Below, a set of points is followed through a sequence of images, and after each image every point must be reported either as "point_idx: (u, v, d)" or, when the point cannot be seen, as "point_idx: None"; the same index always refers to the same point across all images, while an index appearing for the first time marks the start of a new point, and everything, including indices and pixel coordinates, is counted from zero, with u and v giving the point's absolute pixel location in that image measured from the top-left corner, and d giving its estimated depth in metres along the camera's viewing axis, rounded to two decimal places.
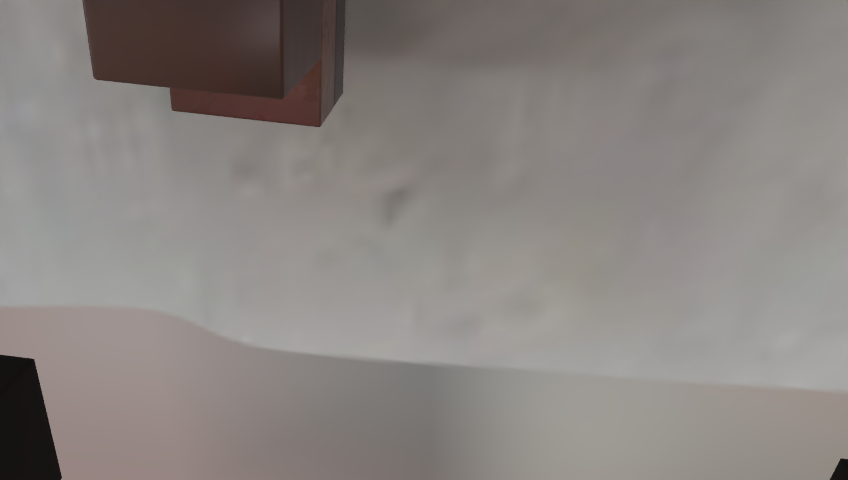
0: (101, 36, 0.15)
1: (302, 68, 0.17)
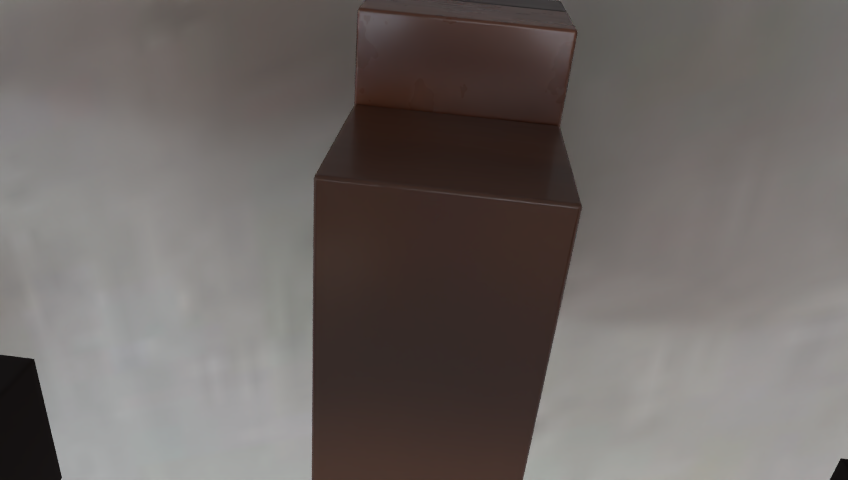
0: (327, 474, 0.15)
1: None
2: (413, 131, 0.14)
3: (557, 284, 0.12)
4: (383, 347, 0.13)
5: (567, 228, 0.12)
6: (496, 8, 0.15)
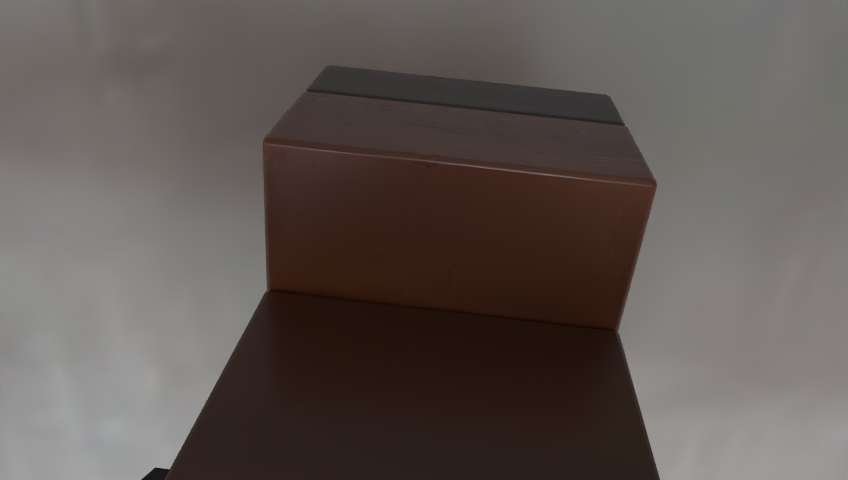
0: None
1: None
2: (358, 370, 0.07)
3: None
4: None
5: None
6: (509, 123, 0.09)
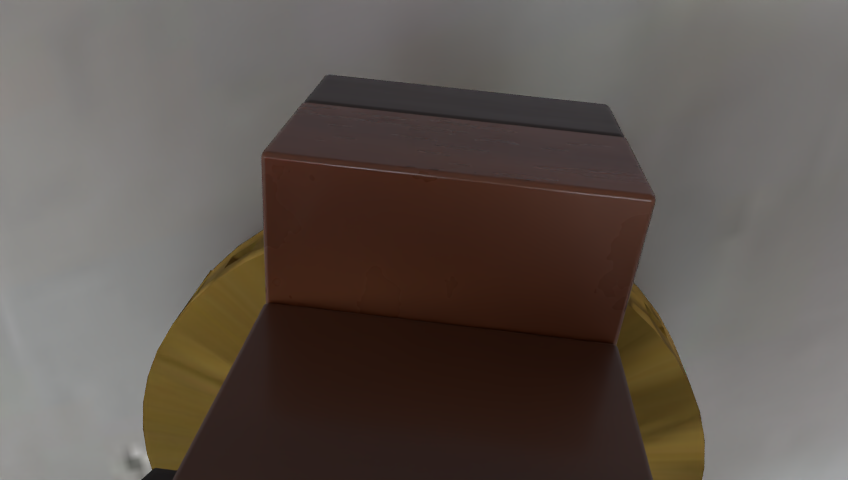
0: None
1: None
2: (357, 384, 0.07)
3: None
4: None
5: None
6: (508, 135, 0.09)
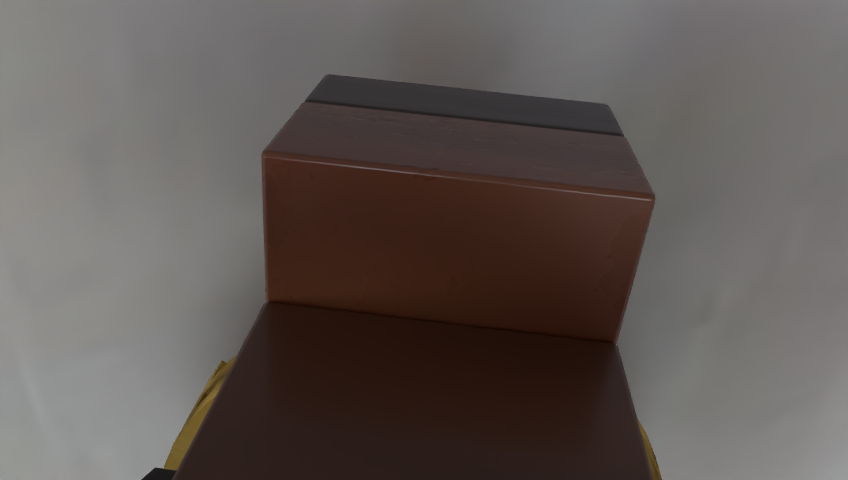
0: None
1: None
2: (357, 383, 0.07)
3: None
4: None
5: None
6: (508, 134, 0.09)
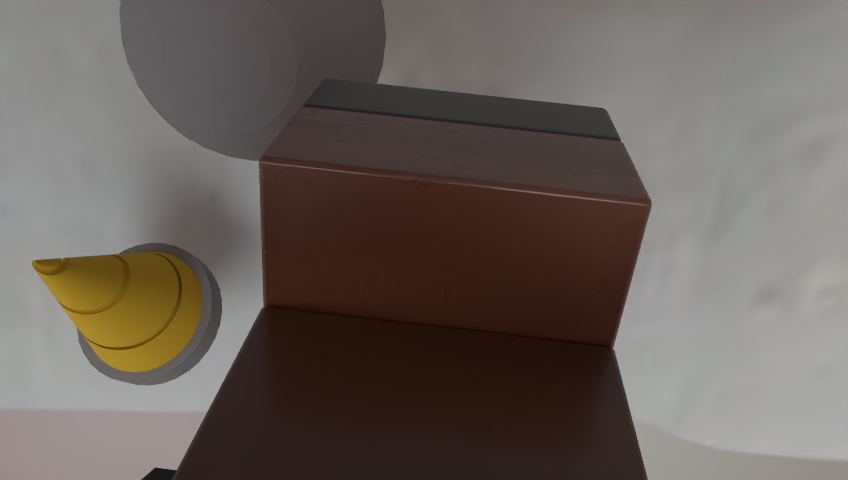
0: None
1: None
2: (354, 388, 0.07)
3: None
4: None
5: None
6: (505, 139, 0.09)
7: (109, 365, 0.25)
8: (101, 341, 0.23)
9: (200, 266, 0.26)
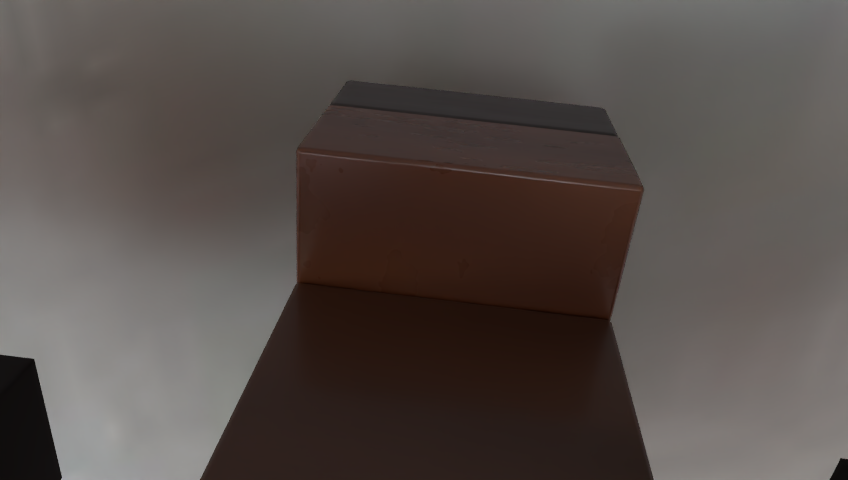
0: None
1: None
2: (381, 351, 0.08)
3: None
4: None
5: None
6: (513, 134, 0.10)
7: None
8: None
9: None
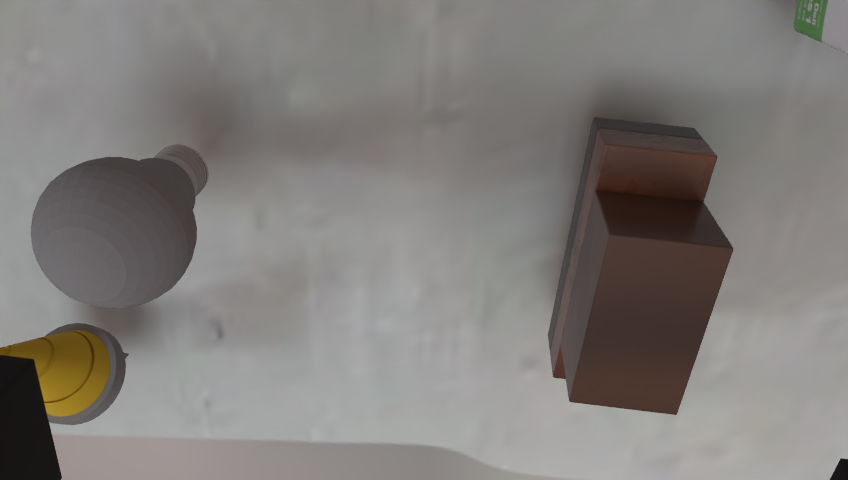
0: (582, 384, 0.28)
1: None
2: (635, 207, 0.27)
3: (718, 284, 0.25)
4: (626, 315, 0.26)
5: (725, 258, 0.25)
6: (667, 138, 0.29)
7: None
8: None
9: (110, 341, 0.37)
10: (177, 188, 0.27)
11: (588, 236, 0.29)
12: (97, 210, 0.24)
